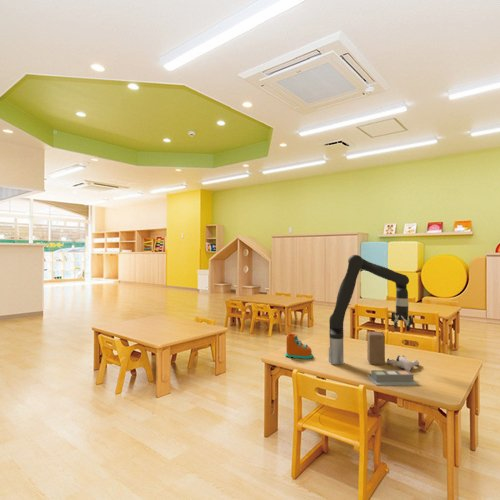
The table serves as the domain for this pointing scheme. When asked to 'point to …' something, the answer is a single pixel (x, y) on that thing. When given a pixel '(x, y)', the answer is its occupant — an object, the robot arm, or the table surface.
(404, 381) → the keypad board
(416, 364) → the yeti figurine
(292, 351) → the toy shoe
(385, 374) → the key sage
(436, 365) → the table surface
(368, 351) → the wooden block
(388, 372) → the key grey
